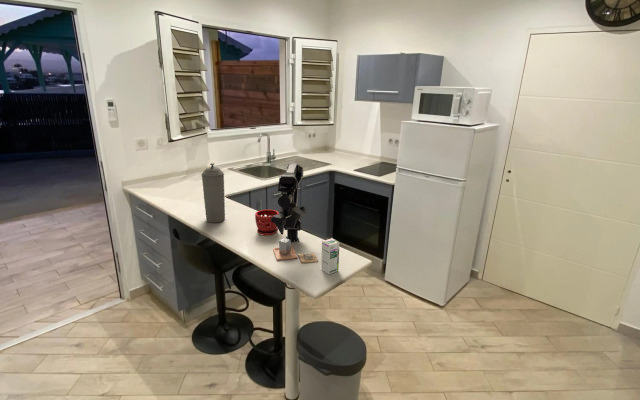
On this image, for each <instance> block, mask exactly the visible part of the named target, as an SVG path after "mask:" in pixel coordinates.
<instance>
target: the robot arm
mask: <svg viewBox="0 0 640 400" xmlns="http://www.w3.org/2000/svg"><path fill="white" fill-rule="evenodd" d="M303 177H304V168H303V167H302V166H301V165H300V164H299V163H298V162H289V163H288V165H287V166H286V171H285V172H283V173H281V175H280V176H279V178H278V179H279V180H278V186H277V187H278V188H277V192H280V196H279V197H278V199H277V203H278V206H279V207H280V208H281V210H280V211H279V215H278V214H277V215H275V216H273V217H271V222H273V223H275V225H276V226H277V228H278V232H279V234H280V235H284V231H287V233H286V234H287V235H286V236H285V238H286V239H289V240H291V243H293V242H300V237H299V235H298V234H299V232H300V231H302V222H301V220H300V219H302V218H303V217H304V216H305V214H306V206H304V205H303V206H298V198H299V197H298V196H299V185H300V184H301V182H302V181H303Z"/></svg>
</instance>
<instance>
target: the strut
mask: <svg viewBox="0 0 640 400" xmlns="http://www.w3.org/2000/svg"><path fill="white" fill-rule="evenodd" d="M278 244H279V245H278V246H279V254H282V255H285V256H287V255H288V254H289V253H291V246H292V245H291V244H292V242H291V240H289V239H286V237H283V238H282V239H280V240H278Z"/></svg>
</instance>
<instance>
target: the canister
mask: <svg viewBox="0 0 640 400" xmlns="http://www.w3.org/2000/svg"><path fill="white" fill-rule="evenodd" d="M209 165H210V166H209V167H205V169H204V170H203V172H202V173H201V179H202V180H201V181H202V182H201V183H202V192H203V200H204V201H203V202H204V210H205V211H204V212H205V219H206V221H207V222H208V223H214V224H216V223H220V222H223V221H225V220H226V208H225V207H226V206H225V204H226V203H225V202H226V201H225V173H224V171H222V170H221V168H219V167H217V166H215V162H211V163H209Z"/></svg>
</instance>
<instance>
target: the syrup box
mask: <svg viewBox="0 0 640 400" xmlns="http://www.w3.org/2000/svg"><path fill="white" fill-rule="evenodd" d="M339 261H340V242H339V241H338V240H336V239H334V238H333V237H331V238H329V239H325V240H321V264H320V265H321V270H322V271H323V272H324V273H326V274H327V275H330V274H333V273H336V272H339V264H340V263H339Z"/></svg>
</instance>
